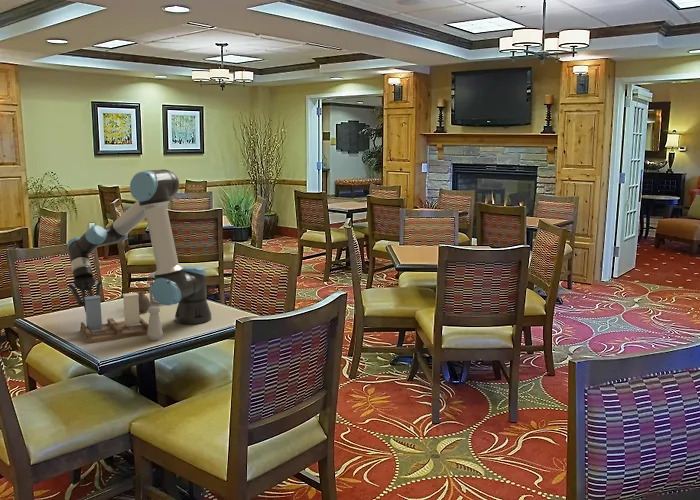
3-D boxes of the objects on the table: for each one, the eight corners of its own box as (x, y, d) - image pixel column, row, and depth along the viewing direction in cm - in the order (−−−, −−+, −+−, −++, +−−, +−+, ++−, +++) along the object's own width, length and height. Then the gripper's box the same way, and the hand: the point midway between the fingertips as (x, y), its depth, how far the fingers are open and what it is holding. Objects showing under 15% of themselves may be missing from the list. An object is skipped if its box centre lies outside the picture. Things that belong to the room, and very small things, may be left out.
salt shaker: (154, 342, 237) (152, 309, 235) (144, 339, 240) (142, 307, 238) (166, 338, 242) (164, 305, 240) (156, 335, 245) (154, 303, 243)
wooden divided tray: (80, 330, 251) (79, 322, 250) (138, 322, 263) (138, 314, 262) (88, 343, 236) (88, 334, 235) (150, 333, 248) (149, 325, 247)
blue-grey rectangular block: (86, 328, 249) (84, 297, 246) (100, 326, 252) (98, 295, 249) (88, 331, 245) (86, 299, 243) (102, 328, 248) (100, 297, 246)
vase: (153, 311, 280) (152, 292, 279) (141, 314, 275) (139, 295, 273) (143, 308, 284) (142, 290, 283) (130, 312, 278) (129, 293, 277)
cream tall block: (124, 324, 254) (122, 294, 252) (137, 322, 257) (136, 292, 254) (126, 327, 250) (124, 296, 248) (140, 325, 253) (138, 294, 251)
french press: (157, 307, 287) (154, 253, 283) (140, 303, 293) (137, 251, 289) (174, 302, 295) (171, 250, 291) (157, 299, 301) (155, 248, 297)
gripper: (97, 274, 267) (108, 321, 256) (64, 277, 261) (74, 325, 250) (99, 264, 262) (110, 311, 251) (65, 267, 255) (75, 316, 244)
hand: (92, 318), depth 250 cm, fingers closed
